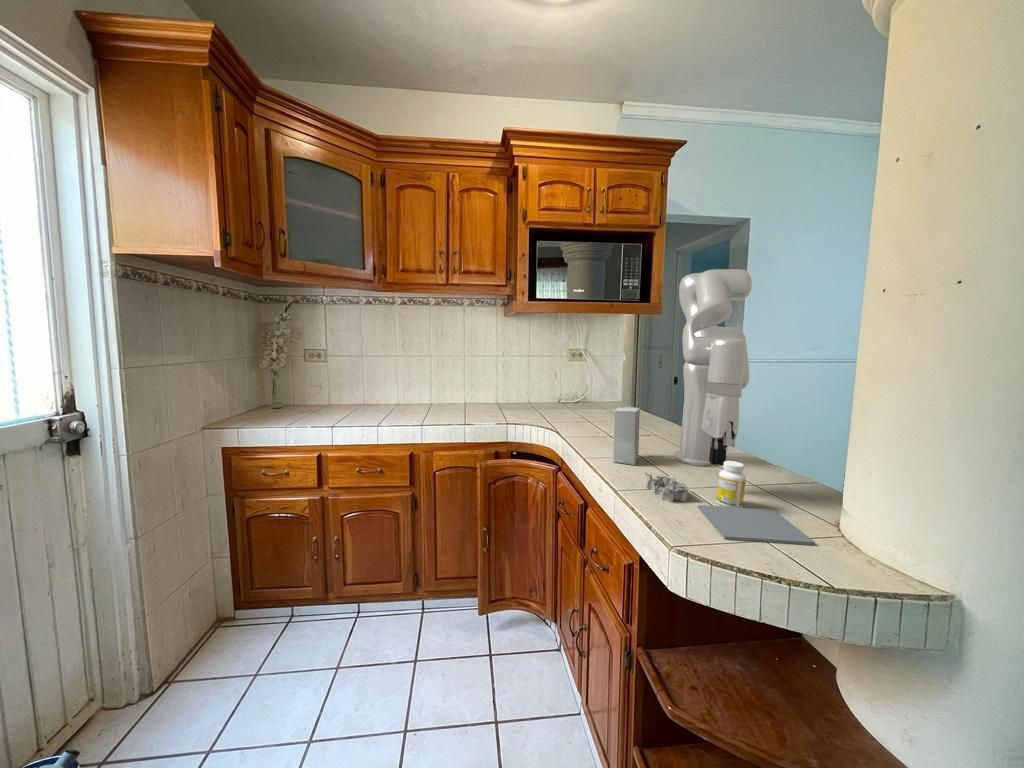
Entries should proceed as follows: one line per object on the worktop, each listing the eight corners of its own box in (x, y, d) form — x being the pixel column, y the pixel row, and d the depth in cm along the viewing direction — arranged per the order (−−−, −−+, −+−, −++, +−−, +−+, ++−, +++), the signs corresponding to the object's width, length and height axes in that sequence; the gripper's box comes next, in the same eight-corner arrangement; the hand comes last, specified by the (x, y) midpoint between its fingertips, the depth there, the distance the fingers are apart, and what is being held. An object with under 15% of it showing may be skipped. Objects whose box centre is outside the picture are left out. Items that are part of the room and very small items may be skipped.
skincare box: (635, 466, 118) (638, 412, 116) (610, 462, 121) (613, 409, 119) (639, 458, 126) (642, 407, 124) (615, 454, 129) (618, 405, 127)
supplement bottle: (725, 509, 90) (729, 467, 89) (711, 499, 96) (715, 459, 94) (748, 509, 91) (752, 467, 90) (733, 499, 96) (737, 459, 95)
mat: (697, 507, 91) (698, 504, 91) (773, 512, 90) (773, 509, 90) (724, 539, 77) (725, 536, 77) (814, 545, 76) (815, 542, 76)
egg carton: (641, 486, 103) (642, 471, 103) (669, 485, 104) (670, 470, 104) (662, 503, 93) (663, 486, 93) (692, 502, 94) (693, 485, 94)
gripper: (696, 385, 106) (690, 454, 109) (720, 393, 91) (713, 473, 94) (726, 386, 106) (720, 455, 108) (755, 395, 91) (747, 475, 93)
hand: (716, 463), depth 101 cm, fingers closed
